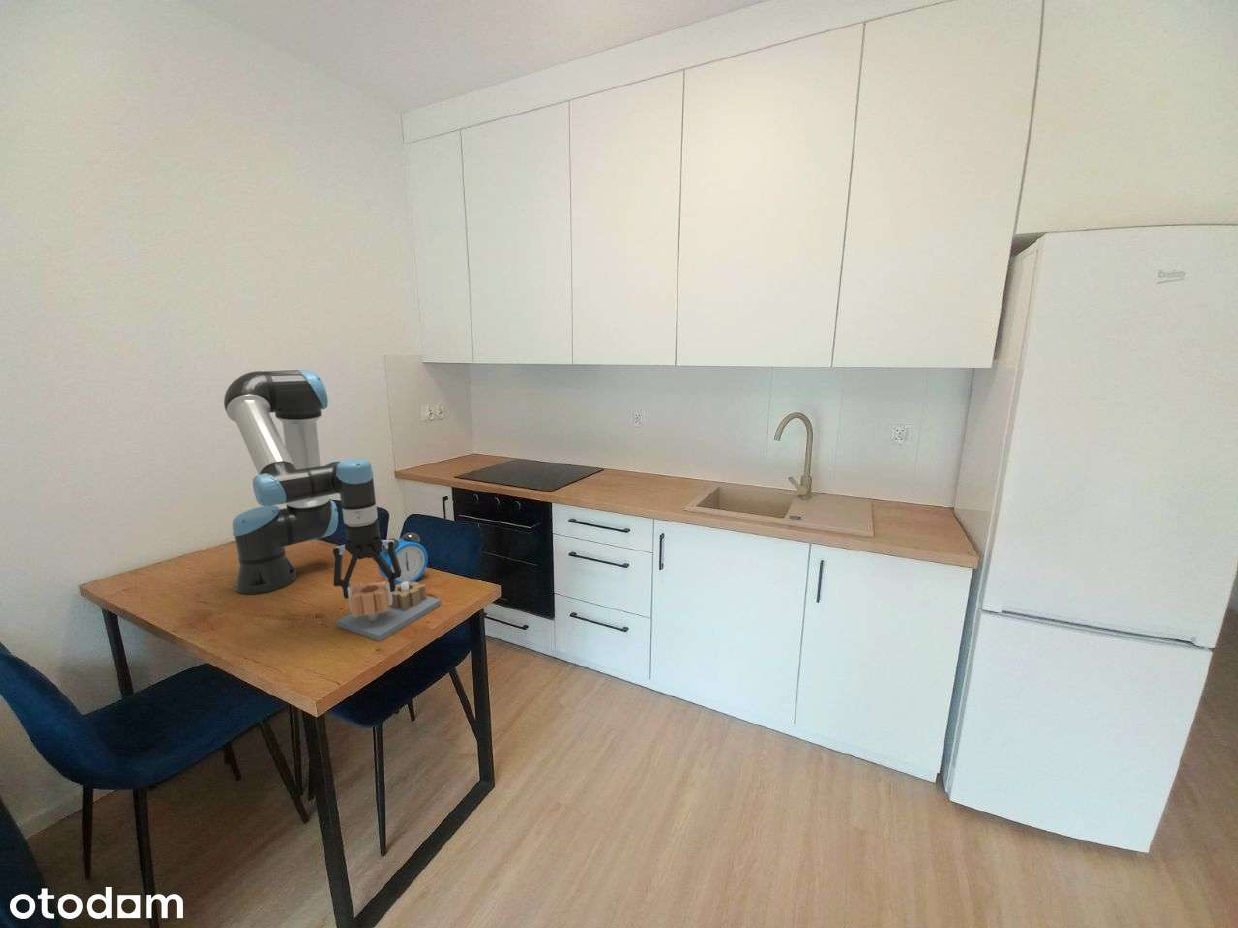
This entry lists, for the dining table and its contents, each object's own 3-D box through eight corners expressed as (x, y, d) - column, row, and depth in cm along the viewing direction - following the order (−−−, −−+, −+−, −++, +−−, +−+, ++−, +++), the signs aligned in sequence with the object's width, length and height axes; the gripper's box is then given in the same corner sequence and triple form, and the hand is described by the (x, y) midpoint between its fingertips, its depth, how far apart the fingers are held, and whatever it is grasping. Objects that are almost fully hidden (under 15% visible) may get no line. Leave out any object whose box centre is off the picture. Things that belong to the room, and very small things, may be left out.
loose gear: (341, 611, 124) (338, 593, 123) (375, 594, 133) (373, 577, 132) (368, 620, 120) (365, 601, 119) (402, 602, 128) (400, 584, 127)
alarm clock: (390, 592, 145) (385, 544, 141) (379, 586, 148) (374, 540, 145) (430, 576, 155) (425, 531, 152) (419, 571, 159) (414, 527, 155)
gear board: (337, 626, 127) (333, 601, 125) (400, 593, 144) (398, 571, 143) (379, 641, 120) (376, 615, 118) (441, 604, 137) (439, 581, 136)
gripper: (309, 532, 115) (322, 620, 119) (405, 521, 121) (414, 605, 126) (317, 522, 122) (329, 605, 126) (407, 512, 128) (416, 592, 133)
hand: (372, 605), depth 126 cm, fingers closed on loose gear, 8 cm apart
